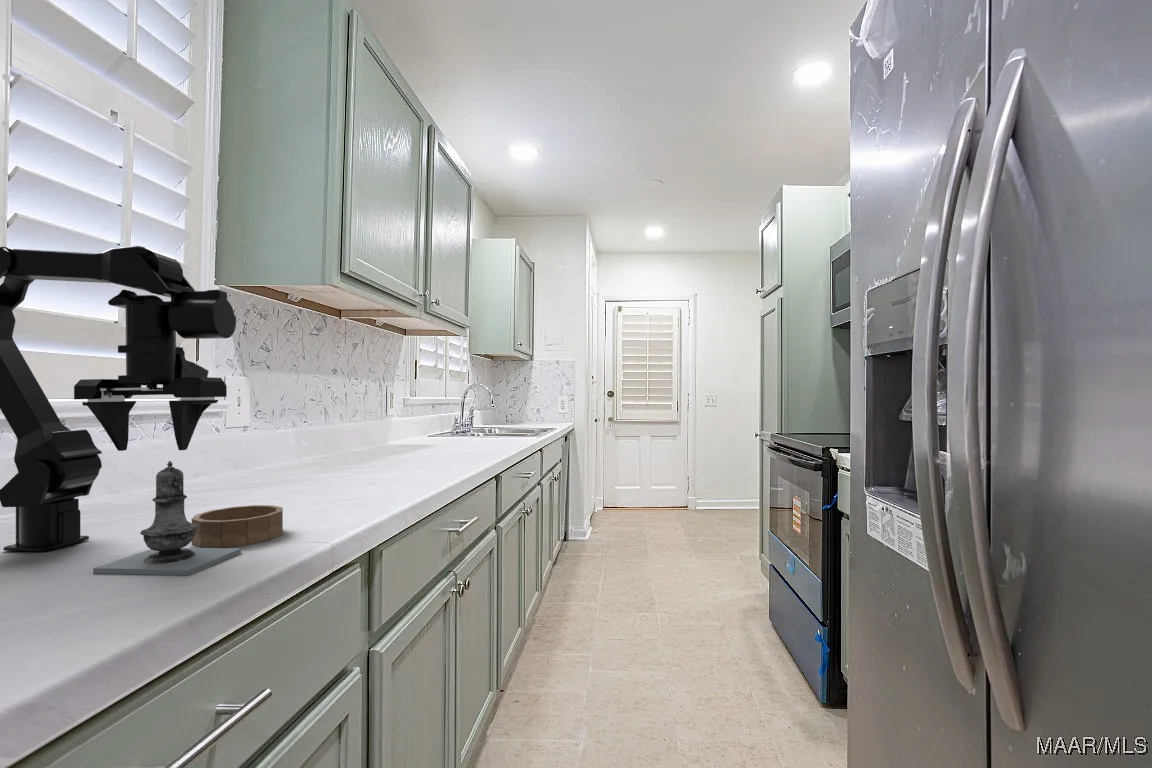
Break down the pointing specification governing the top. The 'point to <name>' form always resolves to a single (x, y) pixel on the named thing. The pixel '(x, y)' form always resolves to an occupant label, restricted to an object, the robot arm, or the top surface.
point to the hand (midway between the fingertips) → (152, 450)
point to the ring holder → (237, 526)
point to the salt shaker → (169, 520)
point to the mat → (183, 567)
